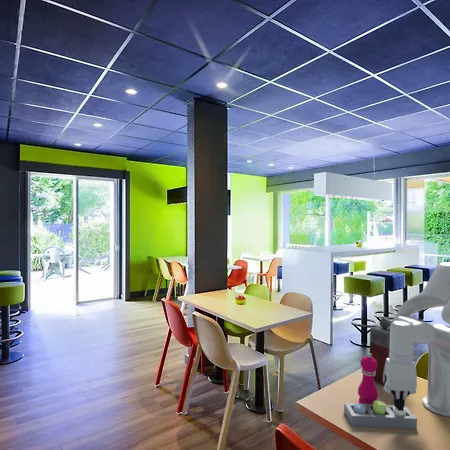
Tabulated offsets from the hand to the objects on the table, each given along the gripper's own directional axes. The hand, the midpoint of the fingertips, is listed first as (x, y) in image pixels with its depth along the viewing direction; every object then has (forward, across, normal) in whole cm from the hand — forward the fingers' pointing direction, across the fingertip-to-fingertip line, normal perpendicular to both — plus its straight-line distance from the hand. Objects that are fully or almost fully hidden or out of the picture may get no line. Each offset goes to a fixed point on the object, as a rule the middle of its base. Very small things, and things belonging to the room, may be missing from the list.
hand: (398, 408), depth 116 cm
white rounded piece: (+4, 0, 0) cm, 4 cm away
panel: (+5, +7, 0) cm, 8 cm away
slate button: (+4, +14, 0) cm, 14 cm away
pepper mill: (+5, +7, -10) cm, 13 cm away
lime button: (+3, +7, 0) cm, 7 cm away
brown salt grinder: (+5, -9, -31) cm, 33 cm away
